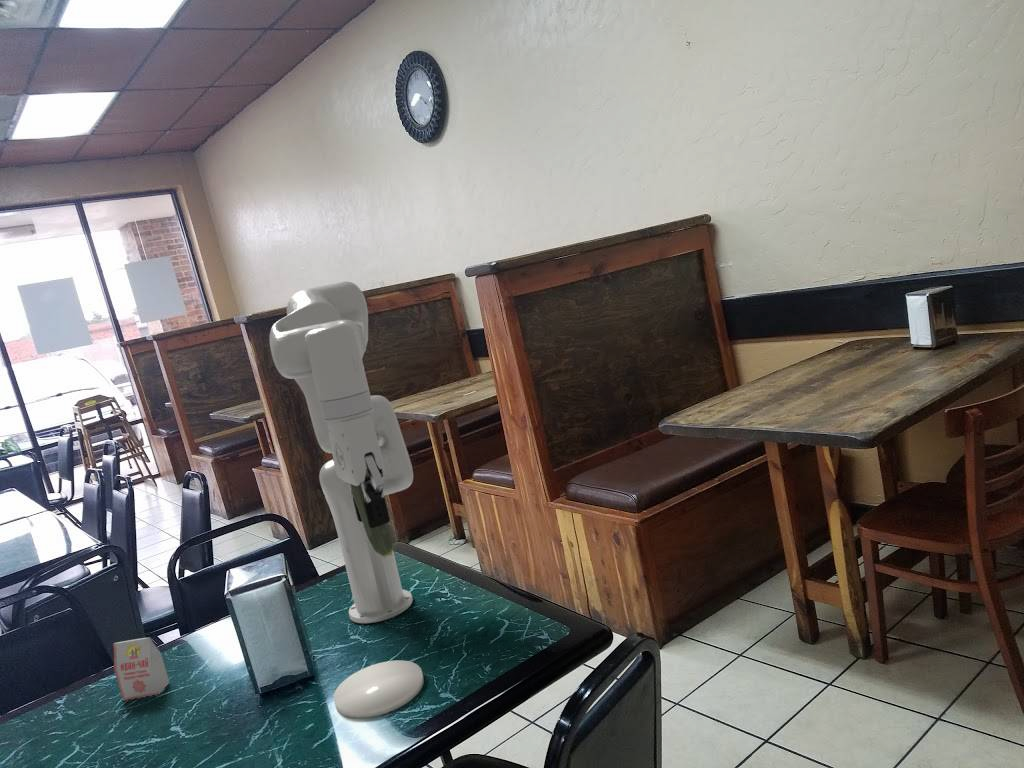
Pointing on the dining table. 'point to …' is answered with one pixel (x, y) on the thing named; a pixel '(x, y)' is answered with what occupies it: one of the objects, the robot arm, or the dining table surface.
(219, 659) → the dining table surface
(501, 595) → the dining table surface
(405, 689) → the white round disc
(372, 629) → the dining table surface
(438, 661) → the dining table surface
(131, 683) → the tea bag
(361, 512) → the vegetable
